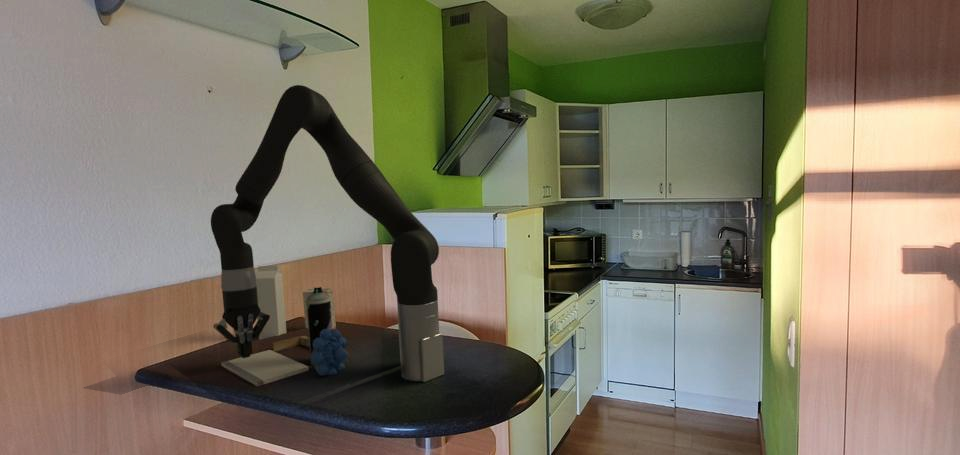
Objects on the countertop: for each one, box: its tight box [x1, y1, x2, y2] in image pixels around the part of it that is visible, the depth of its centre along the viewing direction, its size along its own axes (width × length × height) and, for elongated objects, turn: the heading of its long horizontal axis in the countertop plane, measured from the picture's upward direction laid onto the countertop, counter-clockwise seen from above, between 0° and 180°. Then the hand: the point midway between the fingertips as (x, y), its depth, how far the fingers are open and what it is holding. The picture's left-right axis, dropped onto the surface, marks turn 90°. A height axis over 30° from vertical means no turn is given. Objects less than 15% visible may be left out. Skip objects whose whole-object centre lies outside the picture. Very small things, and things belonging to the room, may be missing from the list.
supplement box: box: [302, 287, 337, 329], centre depth 155 cm, size 8×5×13 cm, turn 84°
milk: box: [255, 265, 287, 340], centre depth 149 cm, size 6×6×22 cm
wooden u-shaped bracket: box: [271, 335, 351, 370], centre depth 127 cm, size 24×9×4 cm, turn 47°
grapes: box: [310, 328, 350, 376], centre depth 113 cm, size 12×7×12 cm, turn 158°
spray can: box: [307, 286, 332, 366], centre depth 121 cm, size 6×6×20 cm
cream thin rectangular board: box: [220, 349, 310, 387], centre depth 119 cm, size 21×2×13 cm
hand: (245, 356), depth 120 cm, fingers closed
